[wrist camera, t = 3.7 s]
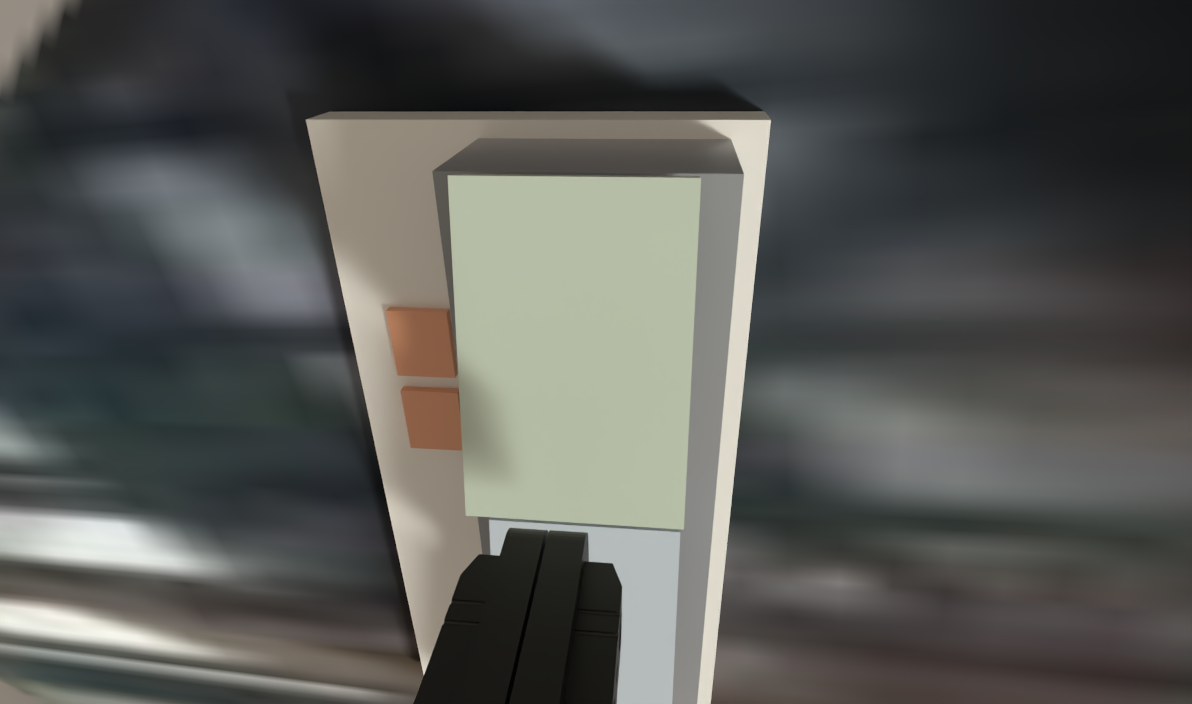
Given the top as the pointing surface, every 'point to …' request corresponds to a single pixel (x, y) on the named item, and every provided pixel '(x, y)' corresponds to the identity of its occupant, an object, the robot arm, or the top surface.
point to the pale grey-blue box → (631, 598)
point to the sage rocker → (575, 344)
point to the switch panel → (416, 274)
